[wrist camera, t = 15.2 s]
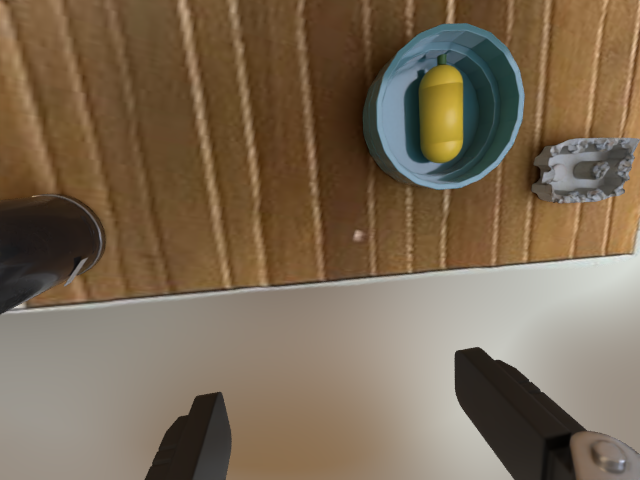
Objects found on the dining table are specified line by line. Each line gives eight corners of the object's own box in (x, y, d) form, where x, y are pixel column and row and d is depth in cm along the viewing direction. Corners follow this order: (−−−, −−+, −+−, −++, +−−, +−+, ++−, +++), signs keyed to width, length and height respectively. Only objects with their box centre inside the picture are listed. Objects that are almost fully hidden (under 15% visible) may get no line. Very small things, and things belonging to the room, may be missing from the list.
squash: (444, 161, 37) (472, 160, 33) (413, 166, 36) (438, 164, 32) (442, 63, 35) (473, 48, 30) (409, 64, 33) (435, 48, 29)
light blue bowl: (385, 204, 38) (403, 211, 32) (342, 77, 34) (354, 59, 28) (498, 158, 38) (536, 156, 32) (468, 26, 34) (506, -3, 28)
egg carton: (526, 201, 40) (552, 205, 36) (534, 141, 38) (563, 138, 34) (601, 198, 41) (634, 201, 37) (612, 139, 39) (649, 136, 35)
